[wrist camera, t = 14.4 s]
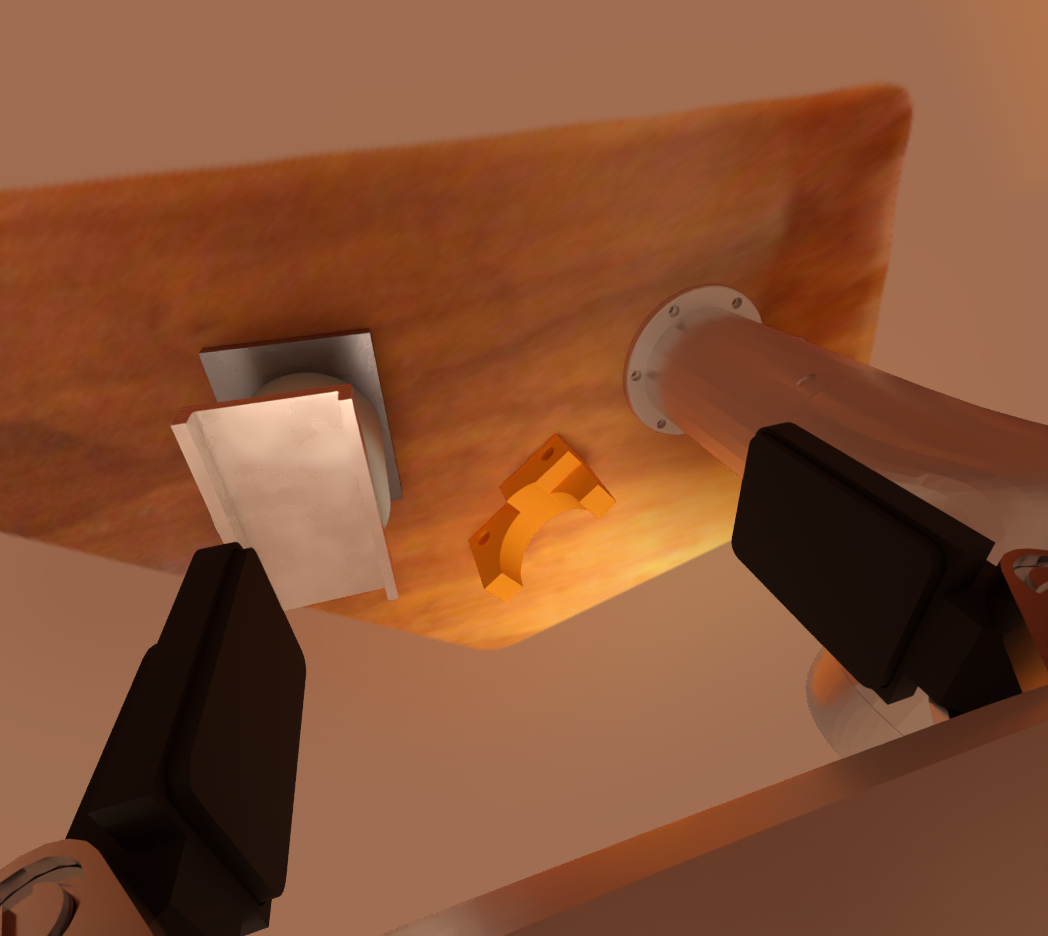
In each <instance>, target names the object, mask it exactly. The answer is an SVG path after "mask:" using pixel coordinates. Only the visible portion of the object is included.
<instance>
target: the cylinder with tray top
mask: <svg viewBox="0 0 1048 936" xmlns="http://www.w3.org/2000/svg"><path fill="white" fill-rule="evenodd" d="M199 356H200V359H201V361H202V364H203V366H204V369H205V371H206V374H207V377H208V379H209V382H210V384H211V387H212V390H213V392H214V395H215V397H216V400H217V402H216V403H209V404H202V405H195V406H188V407H183V408H182V409H181V411H180V412H179V414H178V415H177V417H176V418H175V420H174V421H173V423H172V424H171V428H172V430H173V432H174V434H175V437H176V439H177V441H178V443H179V445H180V448H181V450H182V452H183V454H184V456H185V459H186V461H187V463H188V465H189V468H190V470H191V472H192V474H193V476H194V479H195V481H196V483H197V485H198V487H199V490H200V492H201V494H202V496H203V498H204V501H205V503H206V505H207V507H208V510H209V512H210V514H211V517H212V520H213V523H214V526H215V528H216V529H217V531H218V533H219V535H220V536H221V538H222V541H223V543H224V544H227V543H231V542H238V543H239V544H240V545H241V546H242V547H243V549H245V548H250V547H252V548H254V550H255V551H256V552H257V554H258V556H259V559H260V561H261V563H262V565H263V567H264V570H265V572H266V574H267V576H268V578H269V580H270V583H271V585H272V587H273V589H274V591H275V593H276V596H277V598H278V600H279V602H280V604H281V607H282V609H283V611H285V610H289V609H294V608H298V607H302V606H307V605H311V604H315V603H320V602H324V601H328V600H333V599H337V598H341V597H346V596H350V595H354V594H359V593H363V592H367V591H372V590H376V589H381V588H385V589H386V593H387V597H388V601H389V600H394V599H398V598H399V597H398V588H397V580H396V574H395V569H394V565H393V561H392V556H391V552H390V548H389V544H388V539H387V535H386V531H385V527H386V524H387V521H388V519H389V514H390V501H393V500H398V499H403V495H402V490H401V485H400V480H399V475H398V470H397V465H396V460H395V455H394V450H393V445H392V440H391V435H390V430H389V425H388V420H387V415H386V410H385V405H384V400H383V395H382V390H381V385H380V380H379V375H378V370H377V365H376V361H375V356H374V351H373V346H372V341H371V336H370V331H369V329H362V330H353V331H345V332H337V333H328V334H320V335H311V336H303V337H295V338H286V339H278V340H270V341H261V342H253V343H244V344H236V345H228V346H219V347H211V348H203V349H202V350H201V351H200V352H199Z"/></svg>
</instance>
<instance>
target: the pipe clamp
mask: <svg viewBox="0 0 1048 936" xmlns="http://www.w3.org/2000/svg"><path fill="white" fill-rule="evenodd" d="M500 489H501V491H502V493H503V495H504V497H505V499H506V501H507V502H508V503H507V504H506V505H505V506H504V507H503V508H502V509H500V510H499V511H498V512H497V513H496V514H495V515H494V516H493V517H492V518H491V519H490V520H489V521H488V522H487V523H486V524H485V525H484V526H482V527H481V528H480V529H479V530H478V531H477V532H476V533H475V534H474V535H473V536H472V537H471V538H470V539H469V543H470V546H471V549H472V553H473V556H474V559H475V562H476V565H477V568H478V571H479V574H480V578H481V581H482V584H483V587H484V589H485V590H486V591H488V592H490V593H491V594H493V595H495V596H496V597H498V598H500V599H501V600H503V601H505V602H507V601H508V600H509V599H511V598H512V597H513V596H514V595H515V594H516V593H517V592H518V591H519V590H521V589H522V588H523V584H522V580H521V564H522V559H523V555H524V553H525V550H526V548H527V546H528V544H529V542H530V540H531V539H532V537H533V536H534V534H535V533H536V532H537V530H538V529H539V528H540V527H541V526H542V525H543V524H544V523H545V522H546V521H548V520H549V519H550V518H552V517H553V516H555V515H556V514H558V513H560V512H563V511H566V510H569V509H584V510H587V511H590V512H591V513H592V514H593V515H594V516H595V517H597V518H598V519H599V518H600V517H601V516H603V515H604V514H605V513H606V512H607V511H608V510H609V509H610V508H611V507H613V506H614V505H615V504H616V503H617V501H616V500H615V499H614V498H613V496H612V495H611V494H610V493H609V491H608V490H607V489H606V488H605V486H604V485H603V484H602V483H601V481H600V480H599V479H598V478H597V476H596V475H595V474H594V472H593V471H592V470H591V469H590V467H589V466H588V465H587V464H586V462H584V461H583V460H582V459H581V458H580V457H579V456H578V455H577V454H576V453H575V452H574V451H573V450H572V449H571V448H570V447H569V446H568V445H567V444H566V443H565V442H564V441H562V440H561V439H560V438H559V437H558V436H557V435H556V434H554V435H553V436H552V437H551V438H550V439H549V440H548V441H547V442H546V443H545V444H544V445H543V446H542V447H541V448H540V449H539V450H538V451H537V452H536V453H535V454H534V455H532V456H531V457H530V458H529V459H528V460H527V461H526V462H525V463H524V464H523V465H522V466H521V467H520V468H519V469H518V470H517V471H516V472H515V473H514V474H513V475H512V476H510V477H509V478H508V479H507V480H506V481H505V482H504V483H503V484H502V485H501V486H500Z"/></svg>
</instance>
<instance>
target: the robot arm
mask: <svg viewBox="0 0 1048 936" xmlns="http://www.w3.org/2000/svg"><path fill="white" fill-rule="evenodd" d="M733 301H734V303H733ZM732 303H733V304H732ZM671 307H672V311H671V312H669V310H670V308H671ZM633 372H635V374H634V375H633V376H632V374H633ZM623 387H624V393H625V397H626V400H627V403H628V405H629V407H630V409H631V411H632V412H633V414H634V415H635V416H636V417H637V418H638V419H639V420H640V421H641V422H642V423H643V424H645V425H646V426H647V427H648V428H650V429H652V430H654V431H656V432H659V433H663V434H668V435H683V434H687V435H688V436H689V437H690V438H692V439H693V440H694V441H695V442H697V443H698V444H699V445H700V446H702V447H703V448H704V449H705V450H707V451H708V452H709V453H710V454H712V455H713V456H714V457H715V458H717V459H718V460H719V461H720V462H722V463H723V464H724V465H725V466H726V467H728V468H729V469H730V470H731V471H733V472H734V473H735V474H736V475H738V476H739V477H740V478H741V479H743V480H742V485H741V491H740V496H739V502H738V507H737V513H736V518H735V524H734V529H733V535H732V548H733V551H734V553H735V555H736V556H737V558H738V559H739V560H740V561H741V562H742V563H743V564H744V565H745V566H746V567H747V568H748V569H749V570H750V571H751V572H752V573H753V574H754V575H755V576H756V577H757V578H758V579H759V580H760V581H761V582H762V583H763V584H764V586H766V588H767V589H768V590H769V591H770V592H771V593H772V594H773V595H774V596H775V597H776V598H777V599H778V600H779V601H780V602H781V603H782V604H783V605H784V606H785V607H786V608H787V609H788V610H789V611H790V612H791V613H792V614H793V615H794V616H795V617H796V618H797V620H798V621H799V622H800V623H801V624H802V625H803V626H804V627H805V628H806V629H807V630H808V631H809V632H810V633H811V634H812V635H813V636H814V637H815V638H816V639H817V640H818V641H819V642H820V643H821V644H822V645H823V646H822V648H821V649H820V651H819V652H818V654H817V655H816V657H815V659H814V661H813V663H812V665H811V667H810V670H809V673H808V676H807V682H806V697H807V703H808V707H809V710H810V712H811V715H812V717H813V719H814V722H815V723H816V725H817V727H818V729H819V730H820V732H821V733H822V735H823V736H824V738H825V739H826V740H827V742H828V743H829V744H830V746H831V747H832V748H833V749H834V750H835V752H836V753H837V754H838V755H839V756H840V757H841V758H842V759H840V760H838V761H835V762H832V763H830V764H827V765H824V766H822V767H819V768H816V769H814V770H811V771H808V772H806V773H803V774H800V775H798V776H795V777H792V778H790V779H787V780H784V781H782V782H779V783H776V784H774V785H771V786H768V787H766V788H763V789H760V790H758V791H755V792H752V793H750V794H747V795H744V796H742V797H739V798H736V799H734V800H731V801H728V802H726V803H723V804H721V805H718V806H715V807H712V808H710V809H707V810H705V811H702V812H700V813H697V814H694V815H691V816H688V817H686V818H683V819H681V820H678V821H676V822H673V823H670V824H667V825H665V826H662V827H659V828H657V829H654V830H651V831H649V832H646V833H643V834H641V835H638V836H636V837H633V838H630V839H628V840H625V841H622V842H620V843H617V844H615V845H612V846H609V847H607V848H604V849H601V850H599V851H596V852H593V853H591V854H588V855H586V856H583V857H581V858H578V859H575V860H573V861H570V862H567V863H565V864H562V865H559V866H557V867H554V868H552V869H549V870H546V871H544V872H541V873H539V874H536V875H533V876H531V877H528V878H525V879H523V880H520V881H518V882H515V883H512V884H510V885H507V886H505V887H502V888H499V889H497V890H494V891H491V892H489V893H486V894H483V895H481V896H478V897H476V898H473V899H470V900H468V901H465V902H463V903H460V904H457V905H455V906H452V907H449V908H447V909H444V910H442V911H439V912H437V913H435V914H432V915H429V916H427V917H424V918H422V919H419V920H417V921H414V922H412V923H409V924H407V925H404V926H402V927H399V928H397V929H395V930H392V931H389V932H387V933H384V934H382V935H379V936H1048V425H1045V424H1041V423H1037V422H1032V421H1029V420H1025V419H1022V418H1018V417H1015V416H1011V415H1008V414H1004V413H1000V412H997V411H993V410H990V409H986V408H983V407H980V406H977V405H974V404H971V403H968V402H965V401H963V400H960V399H957V398H954V397H951V396H948V395H945V394H943V393H940V392H937V391H934V390H931V389H928V388H925V387H923V386H920V385H917V384H915V383H912V382H910V381H907V380H904V379H902V378H899V377H897V376H894V375H892V374H889V373H886V372H884V371H881V370H878V369H876V368H874V367H871V366H868V365H866V364H863V363H861V362H858V361H856V360H853V359H851V358H848V357H846V356H843V355H840V354H838V353H835V352H833V351H830V350H828V349H825V348H823V347H820V346H817V345H815V344H812V343H810V342H807V341H805V340H804V339H803V338H802V337H799V336H797V337H795V336H792V335H789V334H787V333H784V332H782V331H779V330H777V329H774V328H772V327H769V326H767V325H764V324H762V320H761V317H760V314H759V312H758V310H757V309H756V307H755V305H754V304H753V303H752V302H751V301H750V300H749V299H748V298H747V297H746V296H745V295H744V294H742V293H740V292H738V291H737V290H735V289H732V288H729V287H726V286H722V285H714V284H707V285H698V286H694V287H691V288H688V289H685V290H682V291H680V292H679V293H677V294H675V295H673V296H671V297H670V298H668V299H667V300H666V301H664V302H663V303H662V304H660V305H659V306H658V307H657V308H656V309H655V310H654V311H653V312H652V313H651V314H650V315H649V316H648V317H647V318H646V320H645V321H644V322H643V324H642V325H641V327H640V328H639V330H638V331H637V333H636V334H635V336H634V338H633V340H632V343H631V345H630V347H629V349H628V353H627V356H626V360H625V364H624V372H623ZM659 420H660V421H659ZM658 422H659V423H658ZM305 680H306V665H305V659H304V655H303V653H302V650H301V648H300V646H299V644H298V641H297V639H296V637H295V635H294V633H293V631H292V628H291V626H290V624H289V622H288V620H287V617H286V615H285V613H284V611H283V609H282V607H281V604H280V602H279V600H278V598H277V596H276V593H275V591H274V589H273V587H272V585H271V583H270V580H269V578H268V576H267V574H266V572H265V570H264V567H263V565H262V563H261V561H260V559H259V556H258V554H257V552H256V551H255V550H254V548H252V547H250V548H245V549H243V547H242V546H241V545H240V544H239V543H238V542H231V543H227V544H222V545H217V546H213V547H208V548H204V549H199V550H198V551H196V552H195V554H194V556H193V558H192V561H191V563H190V565H189V568H188V570H187V573H186V575H185V578H184V580H183V583H182V585H181V587H180V590H179V592H178V594H177V597H176V599H175V602H174V604H173V607H172V609H171V611H170V614H169V616H168V619H167V621H166V623H165V626H164V628H163V631H162V633H161V636H160V638H159V640H158V643H157V644H155V645H153V646H152V647H151V648H149V649H148V651H147V653H146V654H145V656H144V658H143V659H142V662H141V664H140V666H139V669H138V671H137V673H136V676H135V678H134V680H133V683H132V686H131V688H130V690H129V692H128V694H127V697H126V699H125V701H124V704H123V706H122V708H121V711H120V713H119V715H118V718H117V720H116V722H115V725H114V727H113V729H112V732H111V734H110V736H109V738H108V741H107V743H106V745H105V748H104V750H103V753H102V755H101V757H100V759H99V762H98V764H97V767H96V769H95V771H94V773H93V776H92V778H91V780H90V783H89V785H88V787H87V790H86V792H85V794H84V797H83V799H82V801H81V804H80V806H79V808H78V811H77V813H76V815H75V818H74V820H73V822H72V825H71V827H70V829H69V831H68V834H67V836H66V838H65V840H61V841H57V842H52V843H48V844H45V845H42V846H40V847H38V848H36V849H34V850H32V851H30V852H28V853H26V854H24V855H22V856H20V857H18V858H17V859H15V860H14V861H12V862H11V863H9V864H8V865H6V866H5V867H4V868H2V869H1V870H0V936H245V935H248V934H251V933H254V932H256V931H259V930H262V929H265V928H268V927H269V919H270V910H271V901H272V899H273V898H276V897H279V896H280V895H281V894H282V893H283V891H284V887H285V882H286V875H287V864H288V854H289V843H290V833H291V823H292V813H293V802H294V793H295V782H296V772H297V761H298V750H299V741H300V730H301V721H302V710H303V700H304V690H305Z"/></svg>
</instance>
